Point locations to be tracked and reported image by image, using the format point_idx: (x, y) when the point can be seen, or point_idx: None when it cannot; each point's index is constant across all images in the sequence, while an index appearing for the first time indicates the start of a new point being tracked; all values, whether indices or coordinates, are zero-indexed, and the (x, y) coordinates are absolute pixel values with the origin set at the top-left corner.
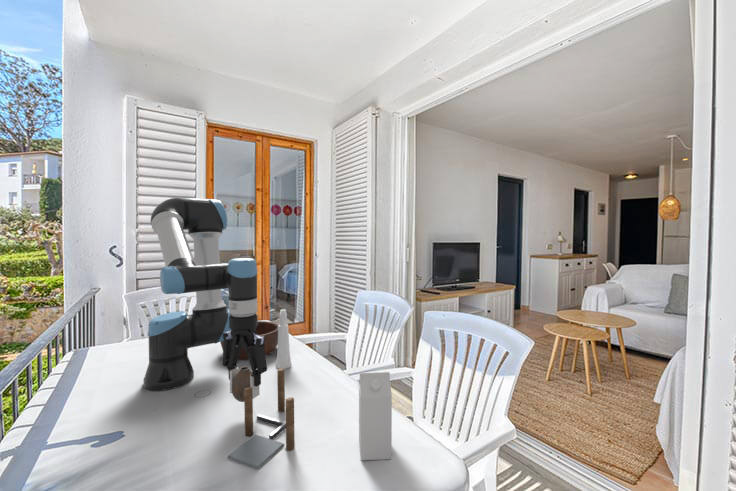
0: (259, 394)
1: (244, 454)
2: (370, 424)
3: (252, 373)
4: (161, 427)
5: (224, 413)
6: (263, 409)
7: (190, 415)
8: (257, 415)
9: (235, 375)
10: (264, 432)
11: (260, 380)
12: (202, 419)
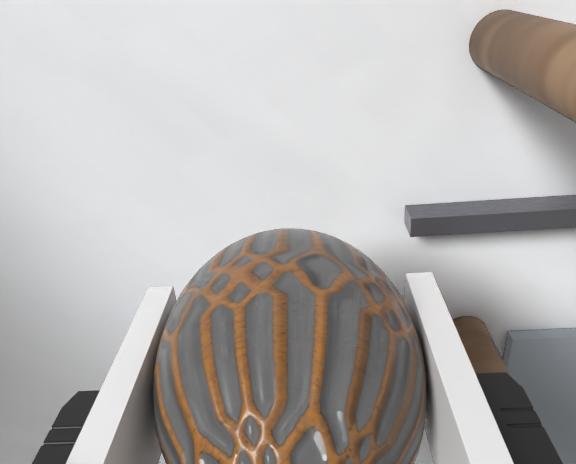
0: (432, 273)
1: (559, 441)
2: None
3: (373, 446)
4: (28, 450)
5: (154, 260)
6: (349, 102)
7: (16, 351)
8: (413, 233)
9: (137, 454)
10: (535, 287)
11: (536, 421)
12: (112, 347)
